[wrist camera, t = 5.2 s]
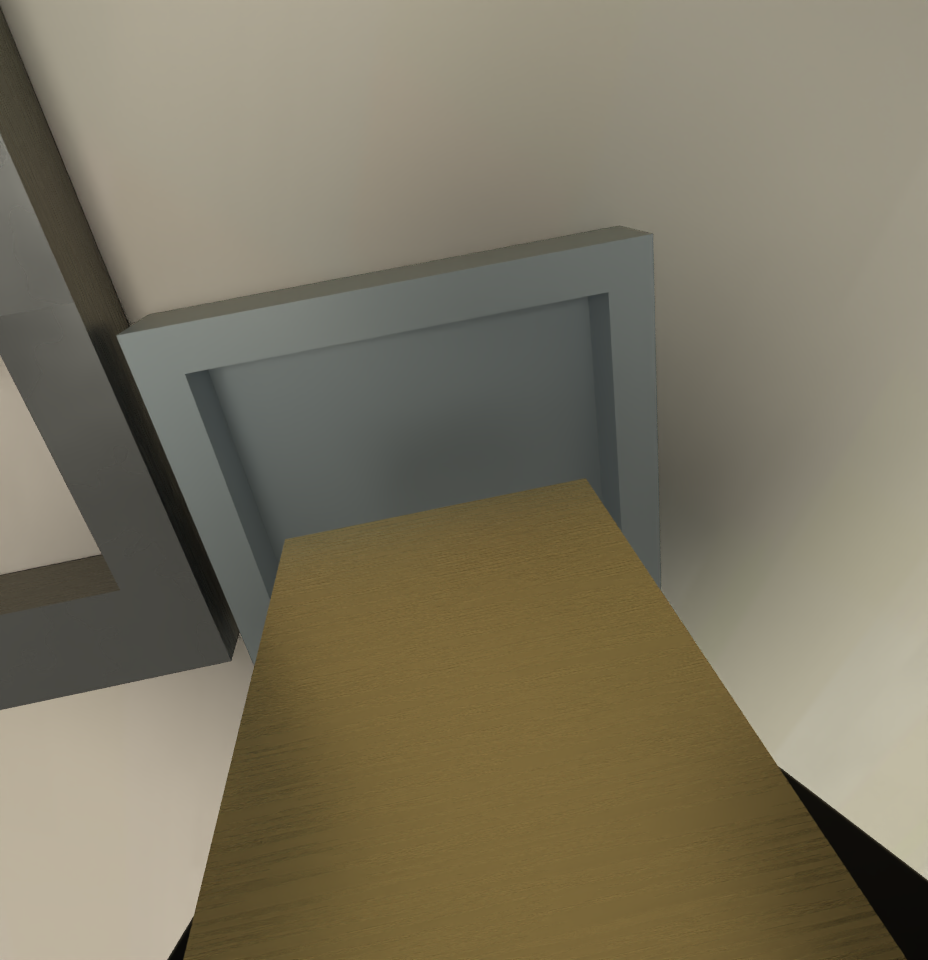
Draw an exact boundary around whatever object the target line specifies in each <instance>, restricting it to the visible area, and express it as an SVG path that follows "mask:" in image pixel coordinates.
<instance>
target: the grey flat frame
mask: <svg viewBox="0 0 928 960" xmlns="http://www.w3.org/2000/svg"><path fill="white" fill-rule="evenodd" d="M127 328H129V325H128V322H127V320H126V317H125V315H124V312H123V310H122V307H121V305H120V303H119V300H118V298H117V295H116V293H115V290H114V288H113V285H112V283H111V280H110V278H109V275H108V273H107V270H106V268H105V266H104V263H103V261H102V258H101V256H100V253H99V251H98V248H97V246H96V243H95V241H94V238H93V236H92V234H91V231H90V229H89V226H88V224H87V221H86V219H85V216H84V214H83V211H82V209H81V206H80V204H79V201H78V199H77V197H76V194H75V192H74V189H73V187H72V184H71V182H70V179H69V177H68V174H67V172H66V169H65V167H64V164H63V162H62V160H61V157H60V155H59V152H58V150H57V147H56V145H55V142H54V140H53V137H52V135H51V132H50V130H49V127H48V125H47V123H46V120H45V118H44V115H43V113H42V110H41V108H40V105H39V103H38V100H37V98H36V95H35V93H34V90H33V88H32V86H31V83H30V81H29V78H28V76H27V73H26V71H25V68H24V66H23V63H22V61H21V58H20V56H19V53H18V51H17V49H16V46H15V44H14V41H13V39H12V36H11V34H10V31H9V29H8V26H7V24H6V21H5V19H4V16H3V14H2V12H1V9H0V355H1V357H2V359H3V361H4V363H5V365H6V367H7V369H8V371H9V373H10V375H11V377H12V379H13V381H14V383H15V385H16V386H17V388H18V390H19V392H20V394H21V396H22V398H23V400H24V402H25V404H26V406H27V408H28V410H29V412H30V414H31V416H32V418H33V420H34V422H35V424H36V426H37V428H38V430H39V432H40V434H41V436H42V437H43V439H44V441H45V443H46V445H47V447H48V449H49V451H50V453H51V455H52V457H53V459H54V461H55V463H56V465H57V467H58V469H59V471H60V473H61V475H62V477H63V479H64V481H65V483H66V485H67V487H68V488H69V490H70V492H71V494H72V496H73V498H74V500H75V502H76V504H77V506H78V508H79V510H80V512H81V514H82V516H83V518H84V520H85V522H86V524H87V526H88V528H89V530H90V532H91V534H92V536H93V538H94V539H95V541H96V543H97V545H98V547H99V549H100V551H101V553H102V555H99V556H94V557H89V558H84V559H79V560H74V561H69V562H64V563H60V564H55V565H50V566H45V567H40V568H35V569H30V570H25V571H20V572H15V573H10V574H6V575H1V576H0V710H2V709H7V708H12V707H17V706H21V705H26V704H31V703H36V702H40V701H45V700H50V699H54V698H59V697H64V696H69V695H73V694H78V693H83V692H87V691H92V690H97V689H102V688H106V687H111V686H116V685H120V684H125V683H130V682H135V681H139V680H144V679H149V678H153V677H158V676H163V675H168V674H172V673H177V672H182V671H187V670H191V669H196V668H201V667H205V666H210V665H215V664H220V663H224V662H229V661H231V660H232V657H233V653H234V650H235V646H236V643H237V639H238V636H239V633H240V631H239V628H238V626H237V624H236V621H235V619H234V616H233V614H232V612H231V609H230V607H229V605H228V602H227V600H226V597H225V595H224V593H223V590H222V588H221V585H220V583H219V581H218V578H217V576H216V573H215V571H214V569H213V566H212V564H211V561H210V559H209V557H208V554H207V552H206V549H205V547H204V545H203V542H202V540H201V537H200V535H199V533H198V530H197V528H196V526H195V523H194V521H193V518H192V516H191V514H190V511H189V509H188V506H187V504H186V502H185V499H184V497H183V494H182V492H181V490H180V487H179V485H178V482H177V480H176V478H175V475H174V473H173V470H172V468H171V466H170V463H169V461H168V459H167V456H166V454H165V451H164V449H163V447H162V444H161V442H160V439H159V437H158V435H157V432H156V430H155V427H154V425H153V423H152V420H151V418H150V415H149V413H148V411H147V408H146V406H145V403H144V401H143V399H142V396H141V394H140V391H139V389H138V387H137V384H136V382H135V380H134V377H133V375H132V372H131V370H130V368H129V365H128V363H127V360H126V358H125V356H124V353H123V351H122V348H121V346H120V344H119V341H118V339H117V336H116V335H118V334H119V333H121V332H123V331H124V330H126V329H127Z"/></svg>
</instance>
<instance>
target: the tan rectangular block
mask: <svg viewBox="0 0 928 960" xmlns="http://www.w3.org/2000/svg"><path fill="white" fill-rule="evenodd" d="M183 960H907V959H906V957H905V956H904V954H903V953H902V951H901V950H900V948H899V947H898V945H897V944H896V942H895V941H894V939H893V938H892V936H891V935H890V933H889V932H888V930H887V929H886V927H885V926H884V924H883V923H882V921H881V920H880V918H879V917H878V915H877V914H876V912H875V911H874V909H873V908H872V906H871V905H870V903H869V902H868V900H867V899H866V897H865V896H864V894H863V893H862V891H861V890H860V888H859V887H858V885H857V884H856V882H855V881H854V879H853V878H852V876H851V875H850V873H849V872H848V870H847V869H846V867H845V866H844V864H843V863H842V861H841V860H840V858H839V857H838V855H837V854H836V852H835V851H834V849H833V848H832V846H831V845H830V844H829V842H828V841H827V839H826V838H825V836H824V835H823V833H822V832H821V830H820V829H819V827H818V826H817V824H816V823H815V821H814V820H813V818H812V817H811V815H810V814H809V812H808V811H807V809H806V808H805V806H804V805H803V803H802V802H801V800H800V799H799V797H798V796H797V794H796V793H795V791H794V790H793V788H792V787H791V785H790V784H789V782H788V781H787V779H786V778H785V776H784V775H783V773H782V772H781V770H780V769H779V767H778V766H777V764H776V763H775V761H774V760H773V758H772V757H771V755H770V754H769V752H768V751H767V749H766V748H765V746H764V745H763V743H762V742H761V740H760V739H759V737H758V736H757V734H756V733H755V731H754V730H753V728H752V727H751V725H750V724H749V722H748V721H747V719H746V718H745V716H744V715H743V713H742V712H741V710H740V709H739V707H738V706H737V704H736V703H735V701H734V700H733V698H732V697H731V695H730V694H729V692H728V691H727V689H726V688H725V686H724V685H723V683H722V682H721V680H720V679H719V677H718V676H717V674H716V673H715V671H714V670H713V668H712V667H711V665H710V664H709V662H708V661H707V659H706V658H705V656H704V655H703V653H702V652H701V650H700V649H699V647H698V646H697V644H696V643H695V641H694V640H693V638H692V637H691V635H690V634H689V632H688V631H687V629H686V628H685V626H684V625H683V623H682V622H681V620H680V619H679V617H678V616H677V614H676V613H675V611H674V610H673V608H672V607H671V605H670V604H669V602H668V601H667V599H666V598H665V596H664V595H663V593H662V592H661V590H660V589H659V587H658V586H657V584H656V583H655V581H654V580H653V578H652V577H651V575H650V574H649V572H648V571H647V569H646V568H645V566H644V565H643V563H642V562H641V560H640V559H639V557H638V556H637V554H636V553H635V551H634V550H633V548H632V547H631V545H630V544H629V542H628V541H627V539H626V538H625V536H624V535H623V533H622V532H621V530H620V529H619V527H618V526H617V524H616V523H615V521H614V520H613V518H612V517H611V515H610V514H609V512H608V511H607V509H606V508H605V506H604V505H603V503H602V502H601V500H600V499H599V497H598V496H597V494H596V493H595V491H594V490H593V488H592V487H591V485H590V484H589V482H588V481H587V479H586V478H583V479H579V480H574V481H569V482H564V483H559V484H554V485H549V486H544V487H539V488H534V489H530V490H525V491H520V492H515V493H510V494H505V495H500V496H495V497H490V498H485V499H481V500H476V501H471V502H466V503H461V504H456V505H451V506H446V507H441V508H436V509H431V510H427V511H422V512H417V513H412V514H407V515H402V516H397V517H392V518H387V519H382V520H378V521H373V522H368V523H363V524H358V525H353V526H348V527H343V528H338V529H333V530H329V531H324V532H319V533H314V534H309V535H304V536H299V537H294V538H289V539H285V541H284V546H283V550H282V554H281V558H280V562H279V566H278V570H277V574H276V579H275V583H274V587H273V591H272V595H271V599H270V603H269V608H268V612H267V616H266V620H265V624H264V628H263V632H262V637H261V641H260V645H259V649H258V653H257V657H256V661H255V665H254V670H253V674H252V678H251V682H250V686H249V690H248V694H247V699H246V703H245V707H244V711H243V715H242V719H241V723H240V728H239V732H238V736H237V740H236V744H235V748H234V752H233V756H232V761H231V765H230V769H229V773H228V777H227V781H226V785H225V790H224V794H223V798H222V802H221V806H220V810H219V814H218V819H217V823H216V827H215V831H214V835H213V839H212V843H211V847H210V852H209V856H208V860H207V864H206V868H205V872H204V876H203V881H202V885H201V889H200V893H199V897H198V901H197V905H196V910H195V914H194V918H193V922H192V926H191V930H190V934H189V938H188V943H187V947H186V951H185V955H184V959H183Z"/></svg>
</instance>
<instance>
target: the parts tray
mask: <svg viewBox="0 0 928 960" xmlns="http://www.w3.org/2000/svg"><path fill="white" fill-rule="evenodd" d="M116 336H117V339H118V341H119V344H120V346H121V348H122V351H123V353H124V356H125V358H126V360H127V363H128V365H129V368H130V370H131V372H132V375H133V377H134V380H135V382H136V384H137V387H138V389H139V391H140V394H141V396H142V399H143V401H144V403H145V406H146V408H147V411H148V413H149V415H150V418H151V420H152V423H153V425H154V427H155V430H156V432H157V435H158V437H159V439H160V442H161V444H162V447H163V449H164V451H165V454H166V456H167V459H168V461H169V463H170V466H171V468H172V470H173V473H174V475H175V478H176V480H177V482H178V485H179V487H180V490H181V492H182V494H183V497H184V499H185V502H186V504H187V506H188V509H189V511H190V514H191V516H192V518H193V521H194V523H195V526H196V528H197V530H198V533H199V535H200V537H201V540H202V542H203V545H204V547H205V549H206V552H207V554H208V557H209V559H210V561H211V564H212V566H213V569H214V571H215V573H216V576H217V578H218V581H219V583H220V585H221V588H222V590H223V593H224V595H225V597H226V600H227V602H228V605H229V607H230V609H231V612H232V614H233V616H234V619H235V621H236V624H237V626H238V628H239V631H240V633H241V636H242V638H243V640H244V643H245V645H246V648H247V650H248V652H249V655H250V657H251V660H252V662H253V664H254V665H255V661H256V657H257V653H258V649H259V645H260V641H261V637H262V632H263V628H264V624H265V620H266V616H267V612H268V608H269V603H270V599H271V595H272V591H273V587H274V583H275V579H276V574H277V570H278V566H279V562H280V558H281V554H282V550H283V546H284V541H285V539H289V538H294V537H299V536H304V535H309V534H314V533H319V532H324V531H329V530H333V529H338V528H343V527H348V526H353V525H358V524H363V523H368V522H373V521H378V520H382V519H387V518H392V517H397V516H402V515H407V514H412V513H417V512H422V511H427V510H431V509H436V508H441V507H446V506H451V505H456V504H461V503H466V502H471V501H476V500H481V499H485V498H490V497H495V496H500V495H505V494H510V493H515V492H520V491H525V490H530V489H534V488H539V487H544V486H549V485H554V484H559V483H564V482H569V481H574V480H579V479H583V478H586V479H587V481H588V482H589V484H590V485H591V487H592V488H593V490H594V491H595V493H596V494H597V496H598V497H599V499H600V500H601V502H602V503H603V505H604V506H605V508H606V509H607V511H608V512H609V514H610V515H611V517H612V518H613V520H614V521H615V523H616V524H617V526H618V527H619V529H620V530H621V532H622V533H623V535H624V536H625V538H626V539H627V541H628V542H629V544H630V545H631V547H632V548H633V550H634V551H635V553H636V554H637V556H638V557H639V559H640V560H641V562H642V563H643V565H644V566H645V568H646V569H647V571H648V572H649V574H650V575H651V577H652V578H653V580H654V581H655V583H656V584H657V586H658V587H659V589H660V590H661V563H660V519H659V474H658V430H657V385H656V341H655V296H654V252H653V234H652V233H648V232H644V231H639V230H635V229H631V228H627V227H622V226H616V227H610V228H605V229H600V230H595V231H589V232H584V233H579V234H573V235H568V236H563V237H558V238H552V239H547V240H542V241H536V242H531V243H526V244H520V245H515V246H510V247H505V248H499V249H494V250H489V251H483V252H478V253H473V254H467V255H462V256H457V257H452V258H446V259H441V260H436V261H430V262H425V263H420V264H414V265H409V266H404V267H399V268H393V269H388V270H383V271H377V272H372V273H367V274H361V275H356V276H351V277H346V278H340V279H335V280H330V281H324V282H319V283H314V284H309V285H303V286H298V287H293V288H287V289H282V290H277V291H271V292H266V293H261V294H256V295H250V296H245V297H240V298H234V299H229V300H224V301H218V302H213V303H208V304H203V305H197V306H192V307H187V308H181V309H176V310H171V311H165V312H160V313H155V314H150V315H147V316H146V317H144V318H142V319H141V320H139V321H138V322H136V323H135V324H133V325H132V326H130V327H129V328H127V329H126V330H124V331H123V332H121V333H119V334H118V335H116Z"/></svg>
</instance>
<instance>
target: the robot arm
mask: <svg viewBox="0 0 928 960" xmlns="http://www.w3.org/2000/svg"><path fill="white" fill-rule="evenodd" d="M778 767H779V766H778ZM779 769H780V770H781V772H782V773H783V775H784V776H785V778H786V779H787V781H788V782H789V784H790V785H791V787H792V788H793V790H794V791H795V793H796V794H797V796H798V797H799V799H800V800H801V802H802V803H803V805H804V806H805V808H806V809H807V811H808V812H809V814H810V815H811V817H812V818H813V820H814V821H815V823H816V824H817V826H818V827H819V829H820V830H821V832H822V833H823V835H824V836H825V838H826V839H827V841H828V842H829V844H830V845H831V846H832V848H833V849H834V851H835V852H836V854H837V855H838V857H839V858H840V860H841V861H842V863H843V864H844V866H845V867H846V869H847V870H848V872H849V873H850V875H851V876H852V878H853V879H854V881H855V882H856V884H857V885H858V887H859V888H860V890H861V891H862V893H863V894H864V896H865V897H866V899H867V900H868V902H869V903H870V905H871V906H872V908H873V909H874V911H875V912H876V914H877V915H878V917H879V918H880V920H881V921H882V923H883V924H884V926H885V927H886V929H887V930H888V932H889V933H890V935H891V936H892V938H893V939H894V941H895V942H896V944H897V945H898V947H899V948H900V950H901V951H902V953H903V954H904V956H905V957H906V959H907V960H928V880H927V879H925V878H924V877H923V876H922V875H920V874H919V873H918V872H916V871H915V870H914V869H912V868H911V867H910V866H908V865H907V864H906V863H904V862H903V861H902V860H901V859H899V858H898V857H897V856H895V855H894V854H893V853H891V852H890V851H889V850H887V849H886V848H885V847H884V846H882V845H881V844H880V843H878V842H877V841H876V840H874V839H873V838H872V837H870V836H869V835H868V834H866V833H865V832H864V831H863V830H861V829H860V828H859V827H857V826H856V825H855V824H853V823H852V822H851V821H849V820H848V819H847V818H846V817H844V816H843V815H842V814H840V813H839V812H838V811H836V810H835V809H834V808H832V807H831V806H830V805H828V804H827V803H826V802H825V801H823V800H822V799H821V798H819V797H818V796H817V795H815V794H814V793H813V792H811V791H810V790H809V789H808V788H806V787H805V786H804V785H802V784H801V783H800V782H798V781H797V780H796V779H794V778H793V777H792V776H790V775H789V774H788V773H787V772H785V771H784V770H783V769H781V768H780V767H779ZM193 918H194V916H193ZM193 918H192V920H191V921H190V923H189V925H188V926H187V928H186V930H185V931H184V933H183V935H182V936H181V938H180V940H179V941H178V943H177V945H176V946H175V948H174V950H173V951H172V953H171V954H170V956H169V958H168V959H167V960H183V959H184V955H185V951H186V947H187V943H188V938H189V934H190V930H191V926H192V922H193Z"/></svg>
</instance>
